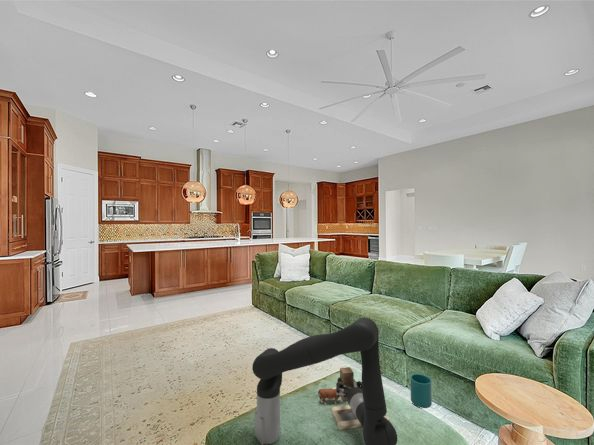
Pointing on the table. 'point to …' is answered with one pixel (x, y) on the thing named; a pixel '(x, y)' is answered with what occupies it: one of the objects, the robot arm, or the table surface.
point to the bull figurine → (327, 394)
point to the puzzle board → (346, 417)
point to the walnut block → (346, 378)
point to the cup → (421, 390)
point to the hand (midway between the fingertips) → (344, 379)
